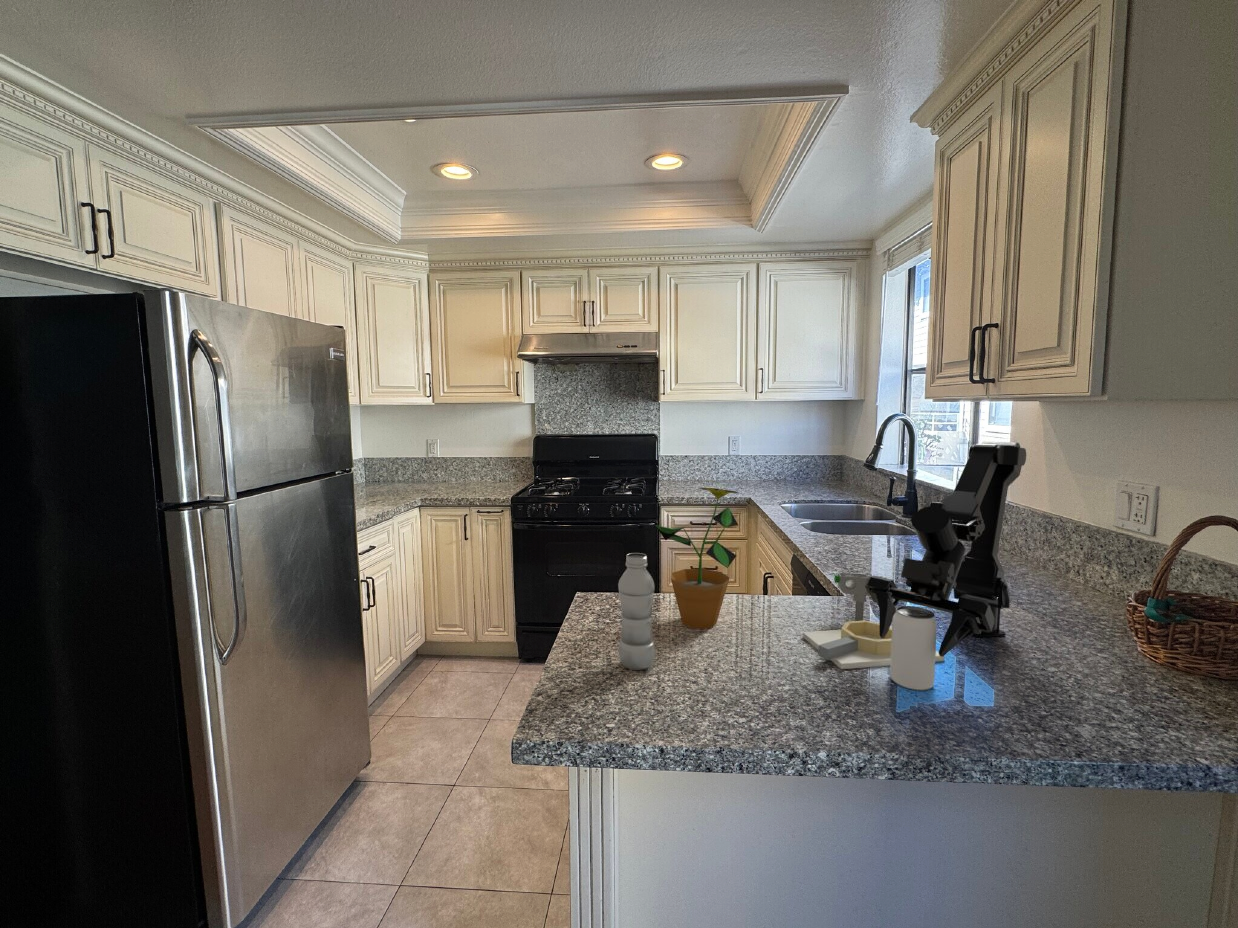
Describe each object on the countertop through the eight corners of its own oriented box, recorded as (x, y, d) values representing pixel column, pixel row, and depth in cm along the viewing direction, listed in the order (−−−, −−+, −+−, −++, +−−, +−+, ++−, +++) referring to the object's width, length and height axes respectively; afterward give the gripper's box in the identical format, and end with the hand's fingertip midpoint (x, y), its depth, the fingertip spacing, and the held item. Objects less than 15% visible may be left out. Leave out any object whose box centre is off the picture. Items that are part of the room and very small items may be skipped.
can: (881, 673, 94) (884, 605, 93) (917, 671, 94) (921, 604, 93) (904, 692, 87) (908, 619, 86) (943, 690, 88) (946, 618, 87)
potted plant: (761, 630, 113) (764, 485, 110) (681, 645, 105) (682, 491, 103) (714, 602, 129) (715, 476, 126) (642, 614, 122) (642, 480, 119)
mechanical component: (886, 625, 115) (888, 578, 114) (835, 621, 117) (836, 576, 116) (882, 619, 118) (884, 574, 117) (832, 616, 120) (834, 572, 119)
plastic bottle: (630, 678, 92) (629, 562, 91) (612, 662, 98) (611, 553, 97) (662, 669, 95) (662, 557, 94) (643, 654, 101) (642, 549, 100)
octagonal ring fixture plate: (906, 629, 112) (907, 613, 112) (958, 659, 99) (959, 640, 98) (791, 637, 109) (791, 620, 108) (828, 670, 95) (829, 650, 95)
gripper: (871, 531, 98) (838, 604, 92) (992, 550, 84) (963, 639, 78) (889, 566, 104) (859, 637, 98) (1005, 589, 90) (979, 675, 84)
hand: (909, 645), depth 89 cm, fingers open, 9 cm apart
